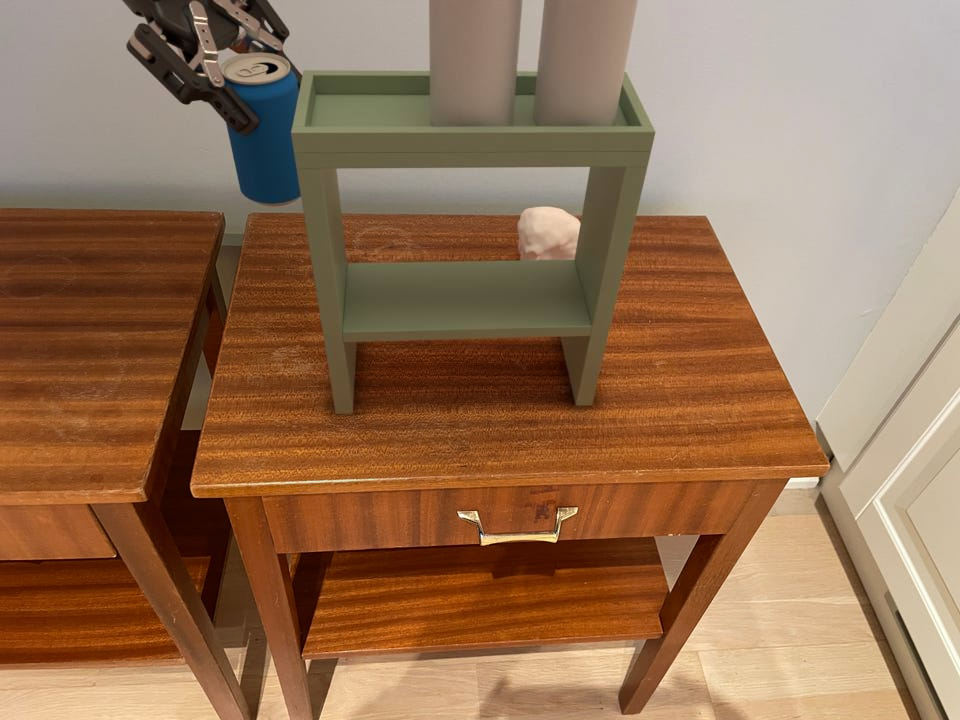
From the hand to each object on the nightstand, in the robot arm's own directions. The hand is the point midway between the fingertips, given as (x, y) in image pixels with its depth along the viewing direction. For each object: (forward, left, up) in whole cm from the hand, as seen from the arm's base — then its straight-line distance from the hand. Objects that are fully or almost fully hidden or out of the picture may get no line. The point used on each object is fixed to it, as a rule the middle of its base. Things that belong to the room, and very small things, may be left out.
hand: (278, 112), depth 62 cm
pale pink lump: (+28, -9, -22) cm, 37 cm away
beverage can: (-1, +1, -9) cm, 9 cm away
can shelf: (+9, -17, +4) cm, 19 cm away
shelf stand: (+9, -17, -22) cm, 29 cm away
